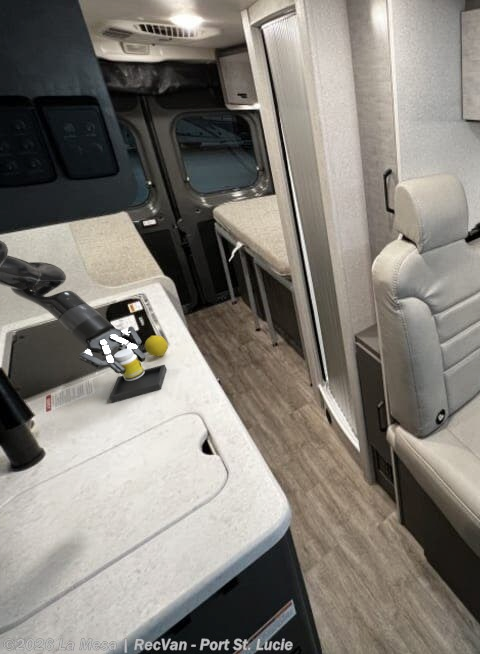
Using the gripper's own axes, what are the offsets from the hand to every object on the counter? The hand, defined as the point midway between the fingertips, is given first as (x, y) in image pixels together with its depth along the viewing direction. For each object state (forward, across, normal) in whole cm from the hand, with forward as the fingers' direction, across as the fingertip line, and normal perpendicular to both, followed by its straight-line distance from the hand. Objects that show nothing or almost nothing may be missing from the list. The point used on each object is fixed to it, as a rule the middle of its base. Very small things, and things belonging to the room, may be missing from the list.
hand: (133, 365), depth 109 cm
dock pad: (+4, 0, +7) cm, 8 cm away
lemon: (-1, +12, +12) cm, 17 cm away
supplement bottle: (+2, 0, +4) cm, 5 cm away
